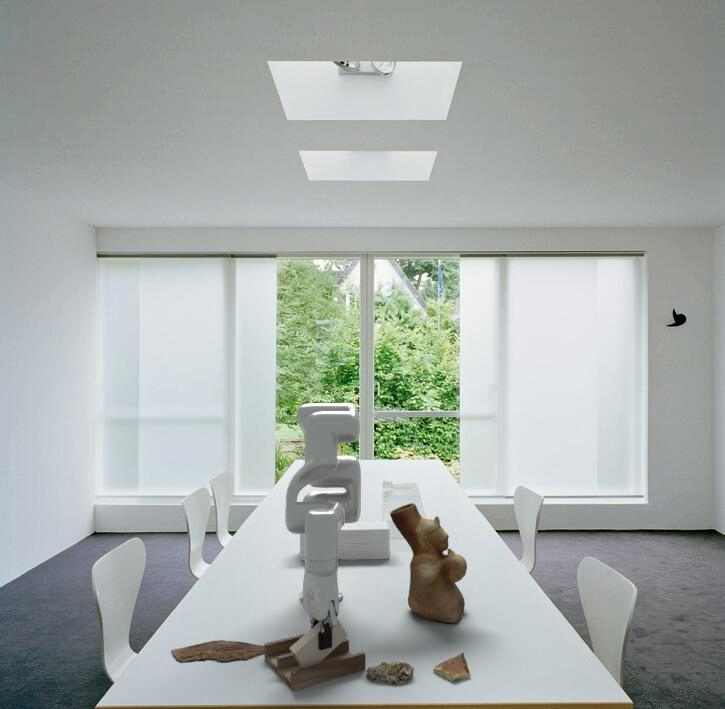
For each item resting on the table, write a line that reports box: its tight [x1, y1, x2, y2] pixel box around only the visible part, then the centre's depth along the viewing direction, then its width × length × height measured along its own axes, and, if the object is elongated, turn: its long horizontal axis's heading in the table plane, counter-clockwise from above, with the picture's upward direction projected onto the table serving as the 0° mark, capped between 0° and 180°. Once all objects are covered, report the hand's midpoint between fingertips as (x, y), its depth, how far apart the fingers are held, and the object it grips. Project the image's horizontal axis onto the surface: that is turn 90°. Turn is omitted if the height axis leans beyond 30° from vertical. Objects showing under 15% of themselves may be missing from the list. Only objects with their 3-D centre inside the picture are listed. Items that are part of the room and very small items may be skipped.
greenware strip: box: [289, 615, 349, 668], centre depth 143 cm, size 3×12×6 cm, turn 120°
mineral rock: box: [366, 661, 415, 685], centre depth 141 cm, size 11×4×8 cm
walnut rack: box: [264, 632, 366, 691], centre depth 146 cm, size 17×18×4 cm
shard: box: [432, 652, 471, 682], centre depth 143 cm, size 11×8×2 cm
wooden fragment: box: [171, 639, 265, 664], centre depth 153 cm, size 26×11×1 cm, turn 91°
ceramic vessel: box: [389, 502, 468, 623], centre depth 177 cm, size 16×22×30 cm
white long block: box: [299, 521, 391, 561], centre depth 229 cm, size 32×11×11 cm, turn 93°
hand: (321, 644), depth 143 cm, fingers closed on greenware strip, 3 cm apart
